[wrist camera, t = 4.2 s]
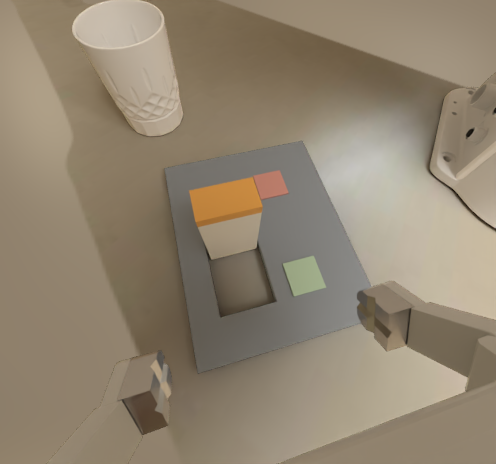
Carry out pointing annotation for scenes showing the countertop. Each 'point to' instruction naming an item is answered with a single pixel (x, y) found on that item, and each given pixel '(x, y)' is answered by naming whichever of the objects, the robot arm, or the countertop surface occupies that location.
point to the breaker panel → (268, 257)
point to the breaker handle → (228, 216)
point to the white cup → (133, 62)
